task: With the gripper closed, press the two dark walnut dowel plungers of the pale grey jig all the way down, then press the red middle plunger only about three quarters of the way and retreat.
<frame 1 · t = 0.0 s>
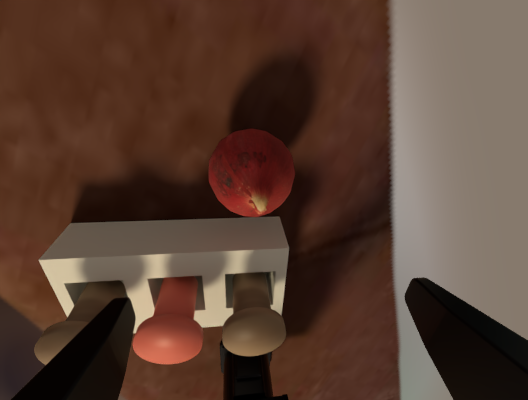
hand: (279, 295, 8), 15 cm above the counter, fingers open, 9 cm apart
jig: (185, 257, 26), on the counter
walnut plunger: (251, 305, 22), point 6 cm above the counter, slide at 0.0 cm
onion: (247, 152, 22), on the counter
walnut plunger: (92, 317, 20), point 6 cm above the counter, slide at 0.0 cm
red plunger: (174, 311, 21), point 6 cm above the counter, slide at 0.0 cm
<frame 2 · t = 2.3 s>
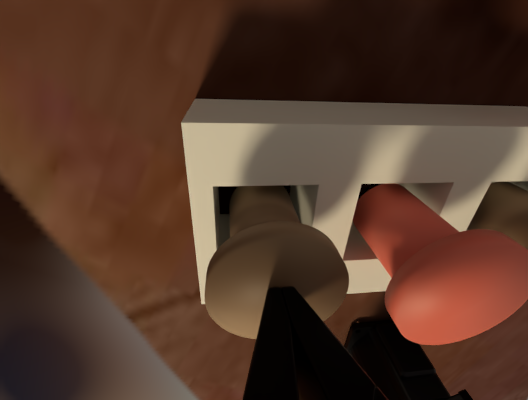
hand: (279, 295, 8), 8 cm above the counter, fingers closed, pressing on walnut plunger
jig: (354, 180, 16), on the counter
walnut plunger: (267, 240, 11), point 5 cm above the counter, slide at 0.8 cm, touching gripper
red plunger: (415, 246, 11), point 6 cm above the counter, slide at 0.0 cm
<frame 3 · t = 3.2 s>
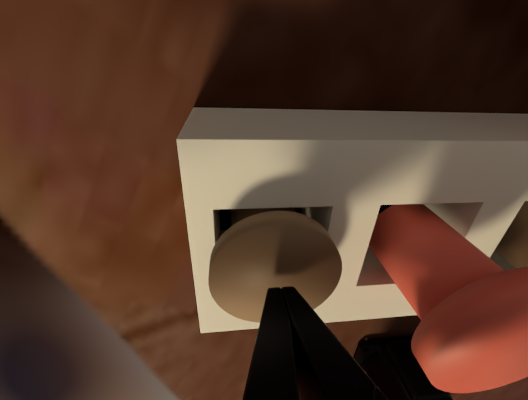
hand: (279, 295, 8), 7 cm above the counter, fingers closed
jig: (366, 194, 15), on the counter
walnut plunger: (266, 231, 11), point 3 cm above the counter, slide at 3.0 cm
red plunger: (441, 275, 10), point 6 cm above the counter, slide at 0.0 cm
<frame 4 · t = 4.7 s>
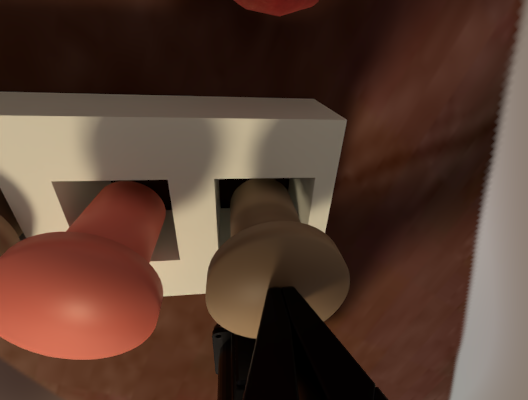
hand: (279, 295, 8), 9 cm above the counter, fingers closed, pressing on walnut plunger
jig: (149, 178, 15), on the counter
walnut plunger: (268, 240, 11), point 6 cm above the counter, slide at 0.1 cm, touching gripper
red plunger: (109, 249, 10), point 6 cm above the counter, slide at 0.0 cm
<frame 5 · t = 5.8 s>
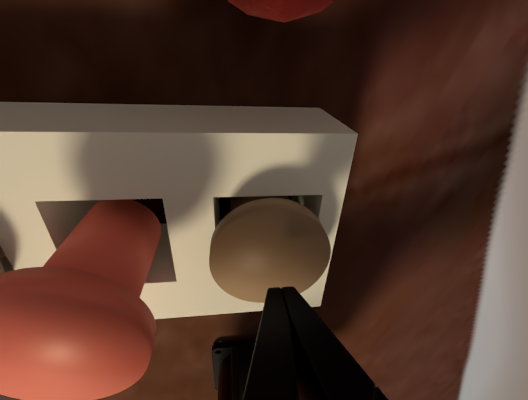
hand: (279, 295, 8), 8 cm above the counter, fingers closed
jig: (144, 191, 14), on the counter
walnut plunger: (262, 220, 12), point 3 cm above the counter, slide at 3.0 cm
red plunger: (98, 276, 9), point 6 cm above the counter, slide at 0.0 cm
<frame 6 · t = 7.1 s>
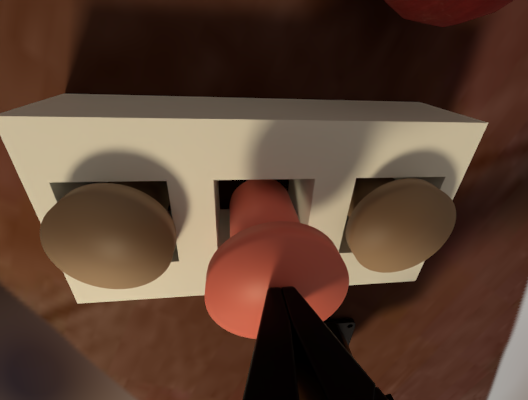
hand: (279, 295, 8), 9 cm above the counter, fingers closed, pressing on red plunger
jig: (254, 178, 16), on the counter
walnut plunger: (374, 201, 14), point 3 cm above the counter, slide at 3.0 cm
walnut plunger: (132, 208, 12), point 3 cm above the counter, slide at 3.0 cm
red plunger: (267, 240, 11), point 6 cm above the counter, slide at 0.2 cm, touching gripper
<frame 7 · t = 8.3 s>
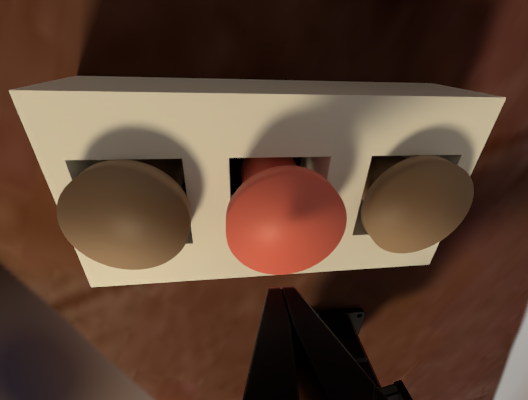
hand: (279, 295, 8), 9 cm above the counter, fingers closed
jig: (265, 163, 16), on the counter
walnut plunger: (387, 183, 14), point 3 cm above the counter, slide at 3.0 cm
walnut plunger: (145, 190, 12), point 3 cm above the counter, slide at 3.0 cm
red plunger: (275, 194, 12), point 4 cm above the counter, slide at 2.2 cm
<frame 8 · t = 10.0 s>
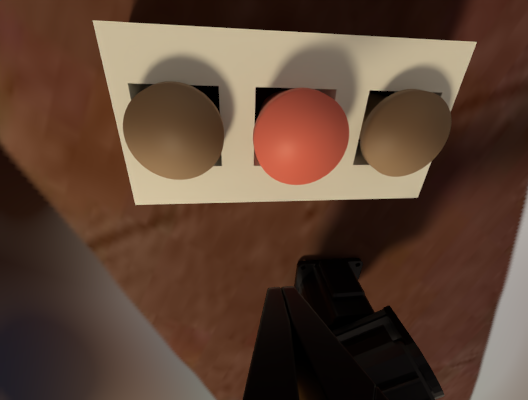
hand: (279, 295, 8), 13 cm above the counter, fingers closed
jig: (279, 111, 18), on the counter
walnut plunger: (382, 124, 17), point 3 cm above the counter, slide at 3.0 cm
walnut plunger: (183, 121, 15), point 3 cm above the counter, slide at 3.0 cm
red plunger: (290, 126, 15), point 4 cm above the counter, slide at 2.2 cm
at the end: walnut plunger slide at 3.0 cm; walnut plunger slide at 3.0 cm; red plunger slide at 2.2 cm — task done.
